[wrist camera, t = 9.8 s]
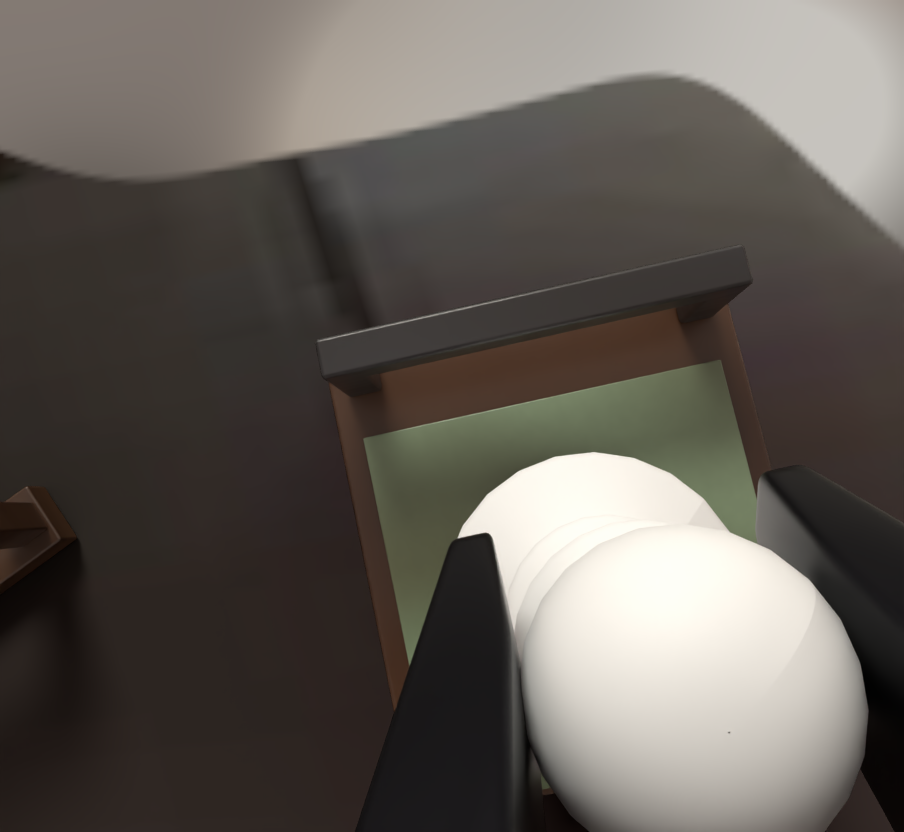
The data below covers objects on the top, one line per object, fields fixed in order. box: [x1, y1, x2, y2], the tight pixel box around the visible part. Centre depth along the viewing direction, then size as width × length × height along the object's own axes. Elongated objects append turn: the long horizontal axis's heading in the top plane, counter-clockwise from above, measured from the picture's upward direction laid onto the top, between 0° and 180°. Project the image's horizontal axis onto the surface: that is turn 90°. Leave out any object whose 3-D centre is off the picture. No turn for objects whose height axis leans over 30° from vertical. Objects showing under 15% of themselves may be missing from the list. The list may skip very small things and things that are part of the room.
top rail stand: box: [315, 245, 772, 795], centre depth 16 cm, size 9×8×6 cm
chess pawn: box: [458, 452, 869, 832], centre depth 10 cm, size 5×5×9 cm
